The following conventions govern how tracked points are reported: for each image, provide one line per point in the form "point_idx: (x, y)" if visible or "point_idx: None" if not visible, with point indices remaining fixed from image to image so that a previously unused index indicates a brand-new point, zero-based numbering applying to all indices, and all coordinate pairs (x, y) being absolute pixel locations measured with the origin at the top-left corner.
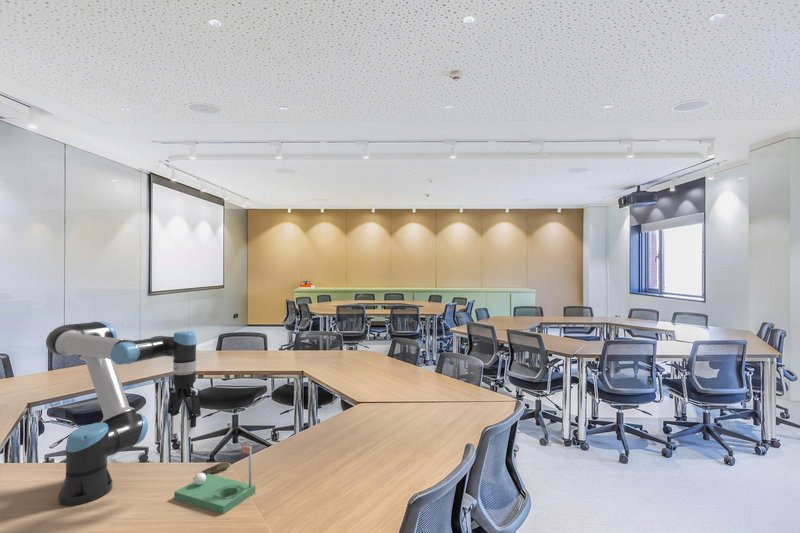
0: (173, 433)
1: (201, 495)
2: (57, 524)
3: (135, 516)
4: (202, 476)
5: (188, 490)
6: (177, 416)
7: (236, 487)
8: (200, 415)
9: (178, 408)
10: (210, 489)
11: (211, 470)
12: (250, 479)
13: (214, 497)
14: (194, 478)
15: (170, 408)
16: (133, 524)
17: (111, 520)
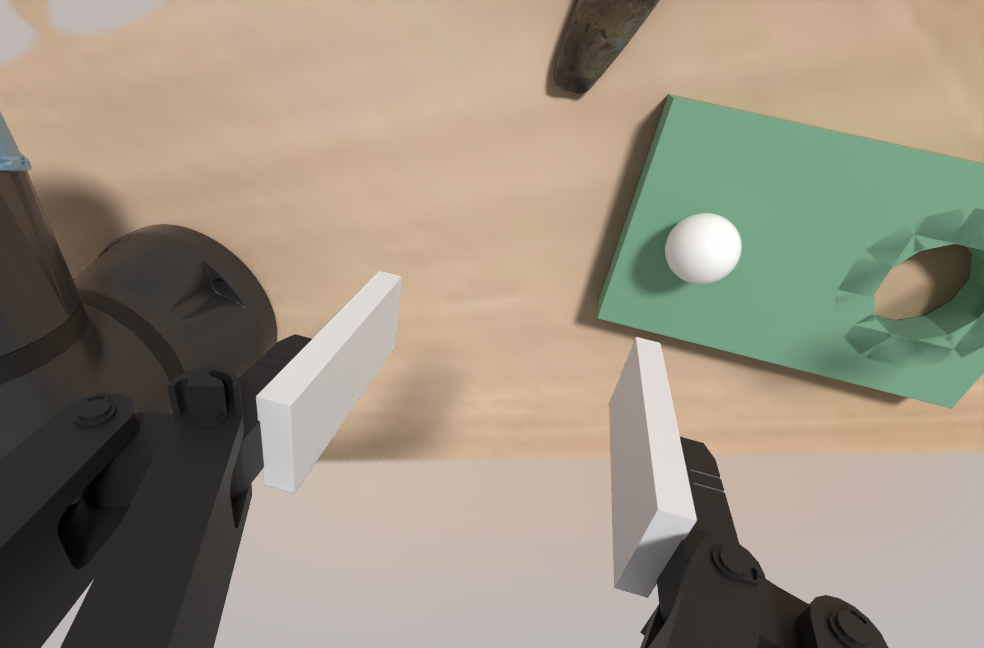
0: (392, 349)
1: (772, 334)
2: (325, 454)
3: (531, 413)
4: (732, 268)
5: (666, 301)
6: (302, 432)
7: (978, 238)
8: (870, 623)
9: (214, 538)
10: (797, 279)
11: (643, 4)
12: None
13: (862, 346)
14: (679, 277)
15: (100, 563)
16: (565, 449)
17: (467, 434)
